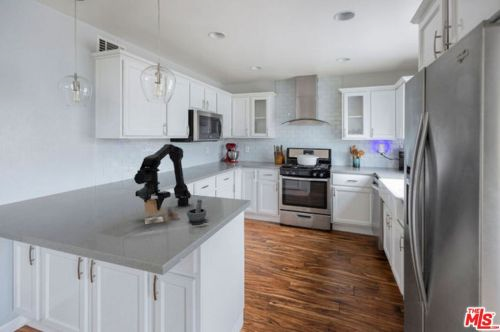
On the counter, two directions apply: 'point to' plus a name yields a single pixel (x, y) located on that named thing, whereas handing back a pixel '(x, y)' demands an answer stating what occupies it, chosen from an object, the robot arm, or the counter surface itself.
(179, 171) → the robot arm
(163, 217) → the board
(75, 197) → the counter surface
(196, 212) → the mortar and pestle
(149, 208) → the tan wooden cube
